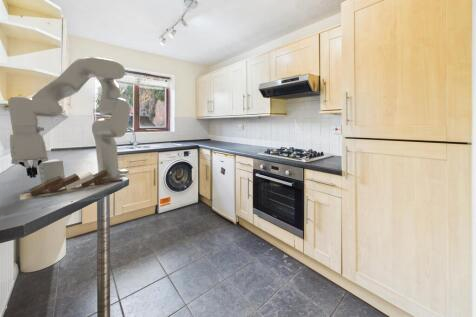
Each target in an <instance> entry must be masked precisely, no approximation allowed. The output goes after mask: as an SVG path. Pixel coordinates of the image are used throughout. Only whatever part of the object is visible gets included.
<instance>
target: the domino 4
mask: <svg viewBox="0 0 476 317" xmlns="http://www.w3.org/2000/svg"><path fill="white" fill-rule="evenodd" d="M123 181H124V180H123V178H121V177H119V178H105V179H100V180H98V181H96V182H94V183H95V184H96V185H99V186H102V185H108V184H113V183H121V182H123Z"/></svg>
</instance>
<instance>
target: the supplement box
mask: <svg viewBox="0 0 476 317" xmlns="http://www.w3.org/2000/svg"><path fill="white" fill-rule="evenodd" d="M37 168H38V172H39V173H38V174H39V178H40V180H39V181H40V184H42V183H44V182H46V181H49V180H51V179H53V178H55V177H58V176H61V177H62V179H64V178H66V177H65V176H66V175H65V168H64V161H63V160H62V159H58V158H57V159H54V158H53V159H48V161H45V162H42V163H40V164H39V165H38V166H37Z"/></svg>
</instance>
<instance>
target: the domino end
mask: <svg viewBox="0 0 476 317" xmlns="http://www.w3.org/2000/svg"><path fill="white" fill-rule="evenodd" d="M62 182H64V180H63V179H62V177H61V176H58V177H55V178H53V179H51V180H49V181H46V182H44V183H42V184H41V183H40V184H38V185H35V186H34V187H30V188H29V189H28V193H31V195H32V196H35V195H37V194H39V193H41V192H43V191H45V190H48V189H49V188H52V187H54V186H56V185H58V184H60V183H62Z"/></svg>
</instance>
